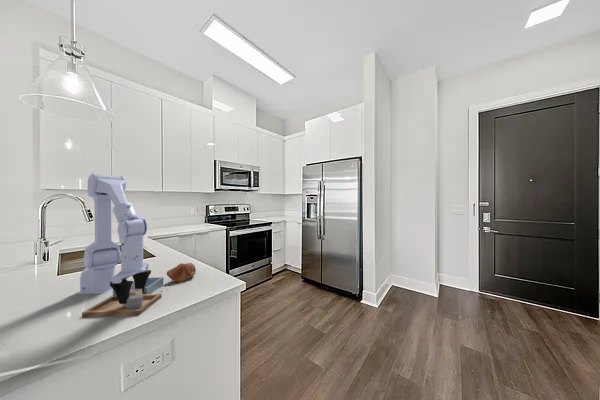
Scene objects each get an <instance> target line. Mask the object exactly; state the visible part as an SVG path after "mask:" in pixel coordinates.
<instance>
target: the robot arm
mask: <svg viewBox="0 0 600 400" xmlns="http://www.w3.org/2000/svg"><path fill="white" fill-rule="evenodd" d="M126 188H127V180H126V177H124V176H123V175H112V174H111V175H110V174H97V173H91V174H90V175H89V176H88V179H87V195H88V197H90V198H93V202H94V206H93V207H94V241H93V242H92V243H90V244H89V245H87V246H85V248H84V253H83V258H82V259H83V260H82V262H83V265H84V267H85V268H84V269H83V270H82V271H81V273H80V276H79V277H80V278H79V279H80V280H79V281H80V282H79V289H80V290H79V292H78V293H77V295H78V294H79V295H86V294H107V293H109V292H111V291H113V290H114V291H115V293H116V295H117V298H118V301H119V304H127V299H128V298H129V293H130V288H131V285H132V283H133V281H129V280H128V279H129V278H130V277H132V279H134V283H135V289H142V293H143V292H144V289H145V285H146V282H147V279H148V278H149V277H150V275H151V273H152V270H151V269H149V265H150V263H144V236H145V235H146V234H147V232H148V231H147V230H148V224H147V221H146V219H145V218H143V217H142V216H140V215H139V214H138V212H137V210H136V208H135V206H134V205H133V203H132V202H128V199H127V196H126V194H125V191H126ZM112 204H113V205H114V207H113V208H112ZM112 212H113V215H114V217H115V219H116V221H117V224H118V225H117V234H118V237H119V238H118V239H119V240H118V241H119V243H120V244H119V243H118V242H115V241H114V240H113V239H112ZM119 263H120V264H121V265H120V271H119V272H118V273H116V267H117V265H118V264H119Z"/></svg>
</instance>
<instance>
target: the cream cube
mask: <svg viewBox="0 0 600 400" xmlns="http://www.w3.org/2000/svg"><path fill="white" fill-rule="evenodd" d="M138 294H142V289H130V293H129V296H131V295H138ZM122 307H127V304H122Z"/></svg>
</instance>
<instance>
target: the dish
mask: <svg viewBox="0 0 600 400" xmlns="http://www.w3.org/2000/svg"><path fill="white" fill-rule="evenodd" d="M131 280H133V278H131V279H130V280H128V281H131ZM163 286H164V276H161V277H160V276H159V277H157V276H156V277H150V276H149V277H148V279H147V282H146V287H145V289H144V292H143V293H142V294H154V292H155V291H157V290H158V289H160V288H161V287H163ZM130 289H135V288H130ZM112 295H116V293H115V291H114V290H112Z"/></svg>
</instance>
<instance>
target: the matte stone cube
mask: <svg viewBox="0 0 600 400" xmlns="http://www.w3.org/2000/svg"><path fill="white" fill-rule="evenodd" d="M142 306H143V294H138V295H131V296H129V298H128V299H127V310H128V309H139V308H141V307H142Z"/></svg>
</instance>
